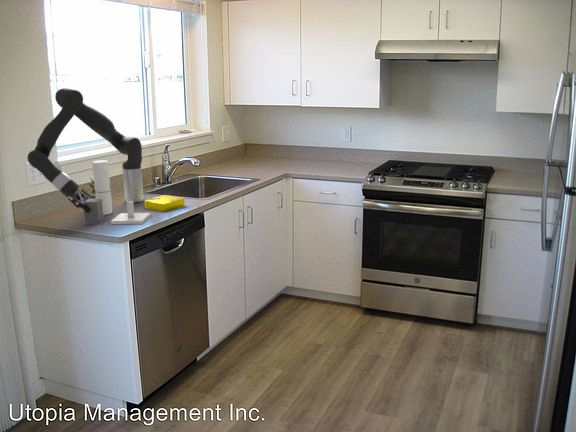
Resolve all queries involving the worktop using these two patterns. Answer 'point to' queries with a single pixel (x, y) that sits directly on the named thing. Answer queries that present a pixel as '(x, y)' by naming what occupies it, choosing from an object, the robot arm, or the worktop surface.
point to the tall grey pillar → (94, 211)
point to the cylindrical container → (102, 184)
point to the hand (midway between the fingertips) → (93, 209)
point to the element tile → (164, 203)
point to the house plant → (92, 188)
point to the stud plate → (131, 220)
